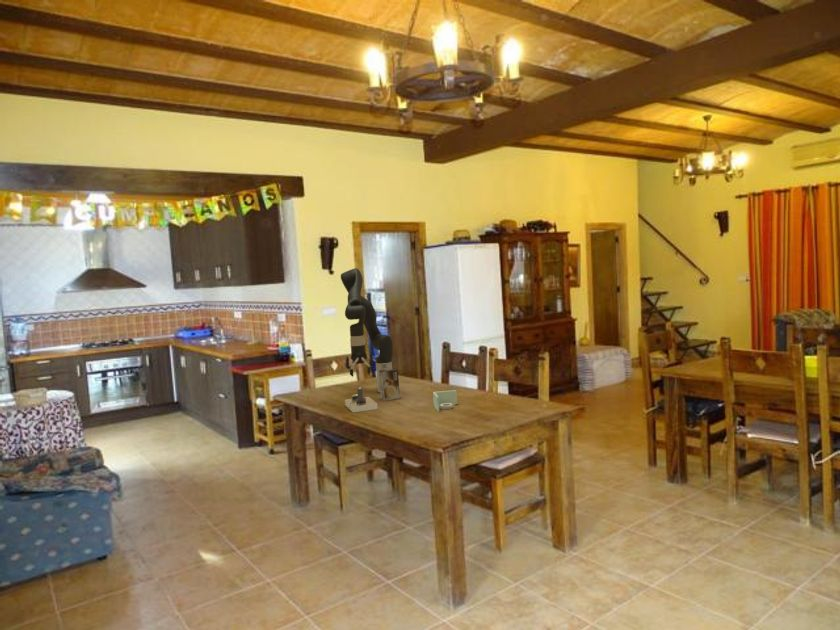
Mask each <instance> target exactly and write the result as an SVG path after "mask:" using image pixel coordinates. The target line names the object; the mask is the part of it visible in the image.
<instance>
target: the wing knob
mask: <svg viewBox="0 0 840 630" xmlns="http://www.w3.org/2000/svg"><path fill="white" fill-rule="evenodd" d="M363 387H364V385H358V386H357V394H358V398H357V399H356V402H357V403H363V402H366V398H363V397H364V388H363Z"/></svg>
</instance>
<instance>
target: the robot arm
mask: <svg viewBox="0 0 840 630" xmlns="http://www.w3.org/2000/svg"><path fill="white" fill-rule="evenodd" d="M340 280H341V282H342V284H343V286H344V288H345V289H346V292H347V293H348V294H347V304H346V308H345V311H344V315H345V318H346V319H347V320H350V321H353V320H358V321H357V322H356V323H352V324H350V326H349V337H350V343H349V344H350V352H351V353H350V354H351V355H350V356H345V368H346V369H347V370H349V375H350V376H351V377H354V367H355V365H359V364H365V365H366V374H367V375H370V373H371V367H372V366H374V359H373V357H374V356H373V354H372V353H369V354H367V353H366V352H367V349H366V339H365V332H364V331H365V330H366V333H367V335H368V337H369V340H370V344H371V345H372V347H373V348H374V350H376V351H379V353H378V356H377V357H375V371H376V386H377V387H376V388H377V392H378V393H380V394H381V390H380V377H379V370H386V369H393V363H392V362H393V361H392V358H393V355H394V353H393V351H394V350H393V349H394V347H393V345H394V344H393V339H392V337H391V336H390V335H387V334H382V333H381V331H380V330H379V328H378V323H377V319H378V317H377V313H376V310H375V308H374V306H373V303H372V302H371V301H370V300H369V299H367V298H366V297H364V296H362V295H361V294H362V288H363V283H364V282H363V281H364V279H363V275H362V273H361V270H360V269H359V268H358V267H357V268H354V267H353V268H352V269H348V270H347V271H344V272H342V273H341V274H340ZM364 328H365V330H364ZM367 359H368V360H369V363H368V361H367ZM351 360H352V361H351ZM350 361H351V363H350Z"/></svg>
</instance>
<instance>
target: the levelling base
mask: <svg viewBox="0 0 840 630" xmlns="http://www.w3.org/2000/svg"><path fill="white" fill-rule="evenodd" d="M357 398H358V393H357V394H352V395H351V398H346V399H344V406H345V407H347V409H348V410H349V411H351V413H359V412H366V411H374V410H378V402H376V401H375V400H373V398H371V397H370V396H363V398H366V402H363V403H357V402H356V399H357Z"/></svg>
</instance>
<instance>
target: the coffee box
mask: <svg viewBox="0 0 840 630" xmlns="http://www.w3.org/2000/svg"><path fill="white" fill-rule="evenodd" d="M379 377H380V390H381V393H380V399H381V400H383V401H384V402H386V401H393V400H397V399H398V400H399V399H401V394H400V382H399V370H398V369H396V368H392V369H386V370H379Z"/></svg>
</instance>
